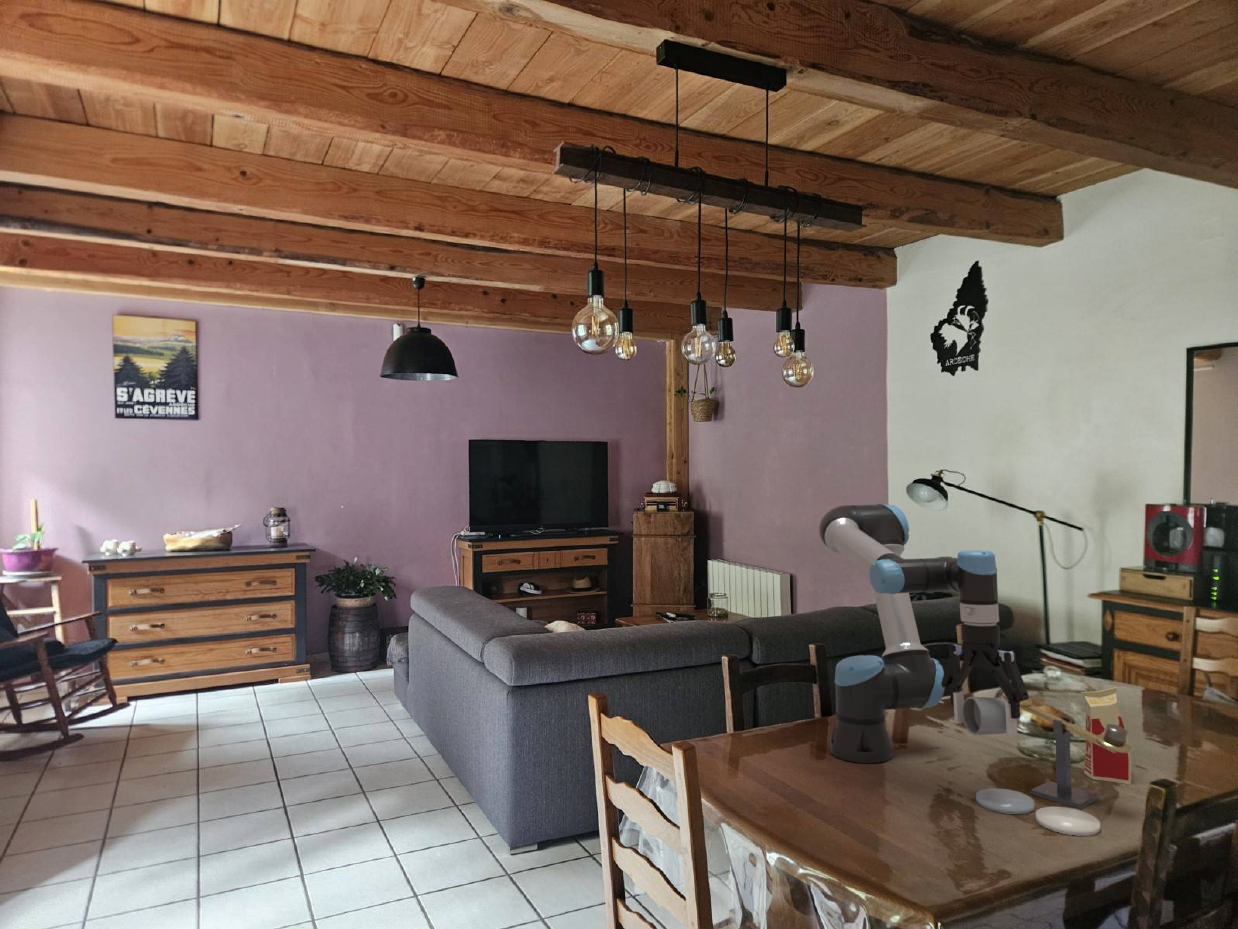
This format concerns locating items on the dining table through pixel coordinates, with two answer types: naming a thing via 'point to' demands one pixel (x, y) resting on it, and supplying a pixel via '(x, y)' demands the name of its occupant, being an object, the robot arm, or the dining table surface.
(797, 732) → the dining table surface
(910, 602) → the robot arm
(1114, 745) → the balance beam
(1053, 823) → the plate far cream
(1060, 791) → the balance stand
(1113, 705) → the milk carton
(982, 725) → the ceramic mug
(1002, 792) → the plate near greyblue
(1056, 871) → the dining table surface
